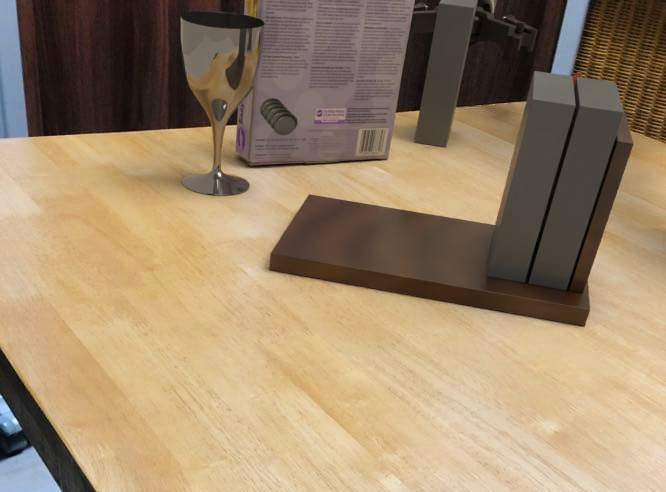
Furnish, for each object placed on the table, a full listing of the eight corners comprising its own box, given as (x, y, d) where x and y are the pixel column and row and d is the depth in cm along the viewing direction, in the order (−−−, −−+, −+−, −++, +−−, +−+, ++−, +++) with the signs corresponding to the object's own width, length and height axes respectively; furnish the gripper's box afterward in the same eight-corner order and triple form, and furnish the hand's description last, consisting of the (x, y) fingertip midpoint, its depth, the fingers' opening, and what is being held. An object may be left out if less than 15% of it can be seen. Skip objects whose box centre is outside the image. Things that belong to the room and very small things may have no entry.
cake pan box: (378, 146, 105) (404, -25, 94) (398, 159, 102) (428, -17, 90) (232, 154, 99) (241, -29, 87) (248, 169, 95) (260, -20, 84)
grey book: (451, 130, 113) (478, -3, 103) (445, 147, 107) (474, 7, 97) (420, 125, 114) (445, -8, 104) (414, 142, 108) (439, 2, 98)
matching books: (564, 247, 80) (616, 82, 71) (566, 290, 73) (624, 111, 64) (492, 235, 81) (534, 70, 72) (486, 276, 74) (532, 98, 65)
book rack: (579, 254, 83) (628, 103, 74) (584, 326, 71) (644, 155, 63) (307, 209, 87) (323, 59, 78) (269, 269, 75) (283, 101, 66)
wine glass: (194, 199, 87) (198, 29, 77) (167, 173, 92) (168, 10, 82) (265, 193, 90) (278, 29, 80) (236, 168, 95) (244, 11, 85)
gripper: (544, 54, 127) (544, 86, 112) (378, 31, 131) (355, 59, 115) (560, -5, 123) (561, 20, 107) (387, -28, 126) (363, -6, 110)
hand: (454, 40), depth 111 cm, fingers open, 13 cm apart
